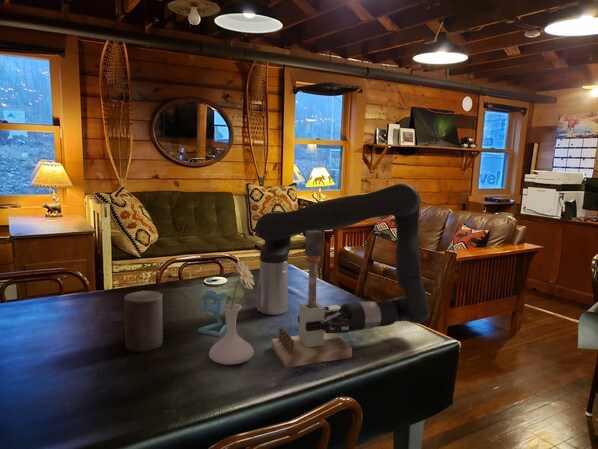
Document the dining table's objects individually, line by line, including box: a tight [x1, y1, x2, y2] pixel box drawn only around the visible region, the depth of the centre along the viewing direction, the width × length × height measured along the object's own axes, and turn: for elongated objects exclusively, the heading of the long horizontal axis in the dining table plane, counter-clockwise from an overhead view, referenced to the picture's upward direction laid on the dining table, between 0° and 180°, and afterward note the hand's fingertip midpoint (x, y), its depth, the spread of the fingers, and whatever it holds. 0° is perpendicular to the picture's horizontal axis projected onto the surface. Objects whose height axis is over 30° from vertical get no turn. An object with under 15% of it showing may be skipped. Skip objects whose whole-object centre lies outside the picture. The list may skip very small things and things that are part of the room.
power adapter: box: [323, 304, 341, 310], centre depth 136 cm, size 11×5×6 cm, turn 116°
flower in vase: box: [208, 260, 255, 365], centre depth 113 cm, size 13×11×25 cm
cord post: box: [271, 230, 353, 369], centre depth 116 cm, size 18×12×32 cm, turn 111°
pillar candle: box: [123, 290, 164, 353], centre depth 120 cm, size 10×10×15 cm
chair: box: [197, 290, 232, 338], centre depth 132 cm, size 8×8×12 cm
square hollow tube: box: [298, 301, 325, 348], centre depth 117 cm, size 5×5×10 cm
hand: (302, 323), depth 116 cm, fingers closed on square hollow tube, 5 cm apart
